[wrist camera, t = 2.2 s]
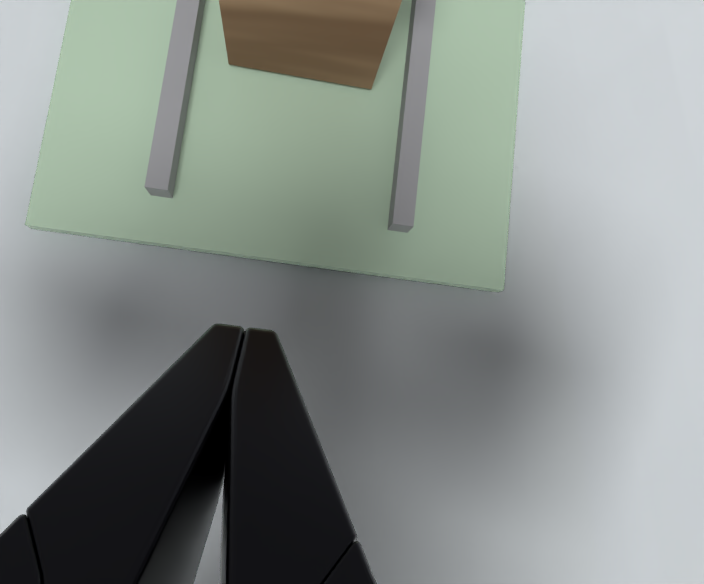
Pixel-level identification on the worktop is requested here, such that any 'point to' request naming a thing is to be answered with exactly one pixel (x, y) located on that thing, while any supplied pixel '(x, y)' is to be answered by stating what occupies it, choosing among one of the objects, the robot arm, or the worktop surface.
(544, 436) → the worktop surface
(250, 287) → the worktop surface
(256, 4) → the figure
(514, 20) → the pitch
